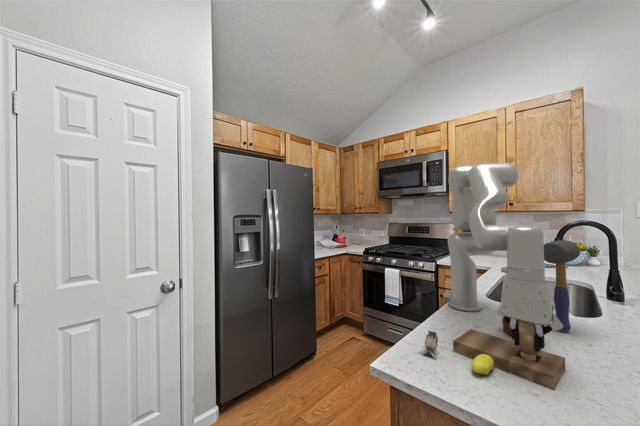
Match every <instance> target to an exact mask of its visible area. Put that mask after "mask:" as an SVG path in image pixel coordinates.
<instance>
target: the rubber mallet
mask: <svg viewBox="0 0 640 426" xmlns="http://www.w3.org/2000/svg"><path fill="white" fill-rule="evenodd" d="M580 255H581V249H580V247H579V245H578V244H577V243H575V242H573V241H572V240H566V239H564V240H562V239H561V240H560V239H559V240H553V241H550V242H547V243H544V262H547V263H549V264H551V265H553V264H554V265H555V286H554V292H553V301H554V303H553V304H554V308H555V310H554V312H555V315H556V316H557V318H558V319H559V320H560V322H561V323H562V325H563V328H562V329H560V330H558V331H559V332H563V333H569V332H570V330H571V329H572V327H571V323H570V318H569V317H570V314H569V313H570V312H569V311H570V294H569V290H568V286H567V272H566V271H567V269H566V268H567V267H566V264H567V263H570V262H572V261H574V260H576V259H577V258H578V257H579V256H580Z"/></svg>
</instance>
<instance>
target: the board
mask: <svg viewBox="0 0 640 426" xmlns="http://www.w3.org/2000/svg"><path fill="white" fill-rule="evenodd" d="M452 346H453V347H452V348H453V352H455V353H458V354H460V355H462V356H466V357H468V358H470V359H474V358H475V357H476V356H478V355H481V354H485V355H489V356H490V357H491V358H492V359H493V361H494V366H493V367H492V368H496V369H499V370H502V371H504V372H506V373H509V374H511V375H514V376H517V377H519V378H522V379H525V380H527V381H530V382H533V383H535V384H537V385H539V386H540V385H541V386H543V387H545V388H548V389H550V390H553V391H555V390H556V388H557V385H558V384H559V382H560V380H561V379H562V376H563V375H564V374H565V371H566V357H564V356H561V355H558V354H554V353H553V352H552V353H551V352H549V351H548V352H547V351H545V350H542V349H541V350H540V351H539V352H537V354H536V363H535V362H532V361H529V360H526V359H523V358H521V351H520V350H519V345H515V344H514V341H512V340H509V339H506V338H502V337H500V336H499V337H498V336H495V335H492V334H489V333H486V332H483V331H479V330H476V329H473V328H471V329H469V330H467V331H466V332H464V333H462V334H461V335H460V336H458V337H457V338H455V339H453V343H452Z"/></svg>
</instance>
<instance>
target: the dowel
mask: <svg viewBox="0 0 640 426" xmlns="http://www.w3.org/2000/svg"><path fill="white" fill-rule="evenodd" d="M518 329H519V350H520V351H521V358H523V359H526V360H529V361H532V362H535V363H536V354H537V352H536V351H535V339H534V336H535V334H536V326H535V324H534V323H530V322H525V321H521V320H518Z"/></svg>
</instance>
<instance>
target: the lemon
mask: <svg viewBox="0 0 640 426" xmlns="http://www.w3.org/2000/svg"><path fill="white" fill-rule="evenodd" d="M493 366H494V361H493V359H492V358H491V357H490V356H489V355H485V354H481V355H478V356H476V357H475V358H474V359H473V360H472V362H471V368H472V371H473V372H474V373H476V374H480V375H485V376H486V375H488V374H489V373H490V371H491V370H493V368H494V367H493Z"/></svg>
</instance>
